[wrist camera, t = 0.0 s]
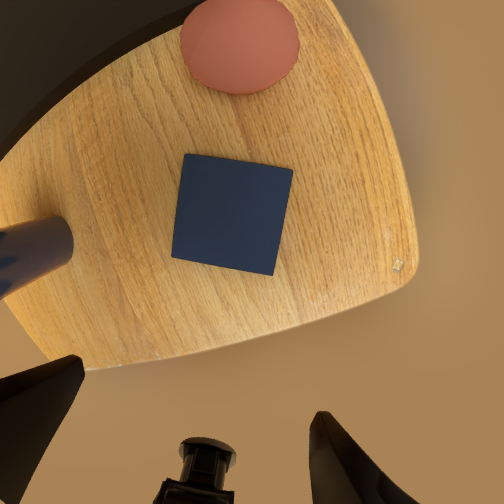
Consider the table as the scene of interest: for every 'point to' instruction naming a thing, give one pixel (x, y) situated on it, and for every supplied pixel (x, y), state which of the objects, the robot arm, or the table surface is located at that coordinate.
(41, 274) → the blue cylinder
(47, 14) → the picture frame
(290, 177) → the blue mat
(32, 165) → the table surface
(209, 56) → the terracotta bud vase
